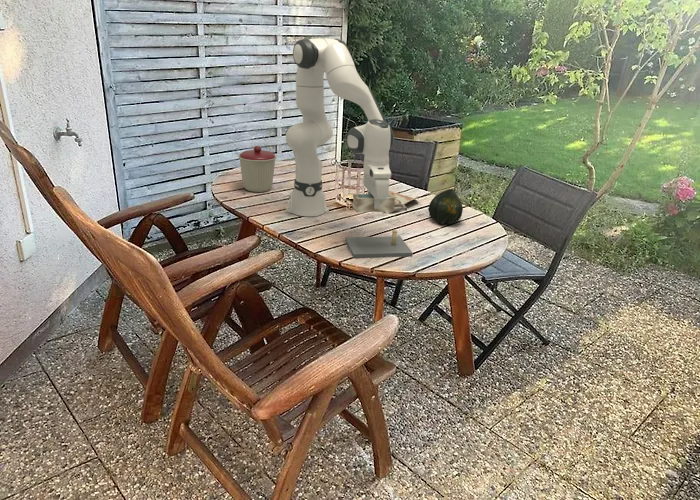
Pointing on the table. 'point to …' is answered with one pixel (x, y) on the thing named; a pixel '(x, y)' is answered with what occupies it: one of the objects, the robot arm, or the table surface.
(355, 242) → the board
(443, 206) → the squash
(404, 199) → the poster
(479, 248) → the table surface
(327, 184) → the table surface
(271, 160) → the canister
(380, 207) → the frame
